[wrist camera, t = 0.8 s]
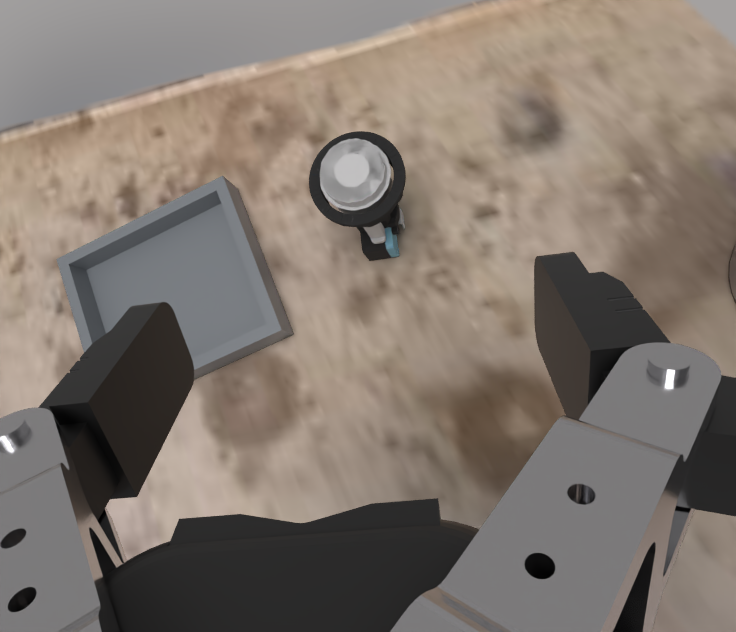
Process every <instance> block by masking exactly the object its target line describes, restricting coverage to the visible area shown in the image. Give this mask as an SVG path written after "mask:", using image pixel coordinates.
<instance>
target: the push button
mask: <svg viewBox="0 0 736 632" xmlns="http://www.w3.org/2000/svg"><path fill="white" fill-rule="evenodd" d="M390 165H391V166H392V167H393V170H394V180H393V182H392V180H391V178H390V176H391V168H390ZM405 178H406V177H405V167H404V163H403V160H402V158H401V156H400V154H399V152H398V150H397V149H396V148H395V146H394V145H393V144H392V143H391V142H390V141H388V140H387V139H385V138H384V137H382V136H380V135H377V134H374V133H371V132H362V131H361V132H351V133H347V134H344V135H341V136H339V137H337V138H335V139H334V140H332V141H331V142H329V143H328V144H327V145H326V146H325V147H324V148H323V149H322V150H321V151H320V152H319V154H318V155H317V157H316V158H315V160H314V162H313V165H312V167H311V171H310V176H309V188H310V193H311V196H312V199H313V201H314V203H315V205H316V206H317V208H318V209H319V210H320V211H321V213H322V214H323V215H324V216H326V217H327V218H328V219H330V220H331V221H333V222H335V223H337V224H340V225H343V226H349V227H357V228H358V230H359V231H360V233H361V243H362V250H363V253H364V254H365V256H366V257H367V258H368V259H369V261H371V260H378V259H385V258H391V257H397V256H399V248H398V243H397V234H399V224H402V226H403V229H405V223H404V216H403V213H402V210H401V208H399V206H398V202H399V201H400V200H401V198H402V196H403V190H404V186H405ZM328 201H329V202H331V203H332V204H333V205H335V206H336V207H337V208H338V209H339V210H340V211H341V212H339V211H337V210H335V209H334V208H332V207H331V206H330V204H329V202H328ZM342 212H343V213H342Z"/></svg>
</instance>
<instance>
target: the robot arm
mask: <svg viewBox="0 0 736 632" xmlns="http://www.w3.org/2000/svg"><path fill="white" fill-rule="evenodd" d="M729 279H730V284H731V290H732V294H733V296H734V298H735V301H736V245H735V247H734V250H733V254H732V257H731V260H730V271H729ZM534 296H535V332H536V338H537V343H538V347H539V350H540V353H541V355H542V358H543V360H544V363H545V365H546V367H547V370H548V372H549V375H550V377H551V380H552V382H553V385H554V387H555V389H556V392H557V394H558V397H559V399H560V402H561V404H562V406H563V409H564V411H565V414H566V416H562V417H560V418H559V419H558V420H557V421H556V422H555V424H554V425H553V426H552V428H551V429H550V431H549V432H548V433H547V435H546V436H545V438H544V439H543V440H542V442H541V443H540V445H539V446H538V448H537V449H536V450H535V452H534V453H533V455H532V456H531V457H530V459H529V460H528V462H527V463H526V465H525V466H524V467H523V469H522V470H521V472H520V473H519V474H518V476H517V477H516V479H515V480H514V482H513V483H512V484H511V486H510V487H509V489H508V490H507V491H506V493H505V494H504V496H503V497H502V499H501V500H500V501H499V503H498V504H497V506H496V507H495V509H494V510H493V511H492V513H491V514H490V516H489V517H488V518H487V520H486V521H485V523H484V524H483V526H482V527H481V528H480V530H479V529H476V528H474V527H471V526H468V525H464V524H461V523H457V522H453V521H447V520H441V518H440V510H439V503H438V499H426V500H413V501H400V502H388V503H375V504H369V505H366V506H363V507H359V508H356V509H352V510H349V511H345V512H342V513H339V514H335V515H332V516H328V517H325V518H322V519H318V520H315V521H311V522H307V523H293V522H287V521H280V520H274V519H268V518H261V517H255V516H249V515H242V514H237V515H224V516H211V517H199V518H186V519H179V521H178V523H177V526H176V528H175V531H174V533H173V536H172V538H171V541H170V542H166V543H163V544H161V545H158V546H156V547H153V548H151V549H149V550H147V551H145V552H143V553H141V554H139V555H137V556H135V557H133V558H131V559H130V560H128V561H127V558H126V556H125V553H124V550H123V547H122V545H121V542H120V539H119V537H118V534H117V531H116V528H115V526H114V523H113V520H112V518H111V516H110V514H109V513H108V511H107V509H106V505H107V503H108V502H109V500H110V499H117V498H129V497H137V496H138V494H139V492H140V490H141V488H142V486H143V484H144V482H145V480H146V478H147V476H148V474H149V472H150V470H151V468H152V466H153V464H154V462H155V460H156V458H157V456H158V454H159V452H160V450H161V448H162V446H163V444H164V442H165V440H166V438H167V436H168V434H169V432H170V430H171V428H172V426H173V424H174V422H175V420H176V418H177V416H178V414H179V412H180V410H181V408H182V406H183V404H184V402H185V400H186V398H187V396H188V394H189V392H190V390H191V388H192V385H193V381H194V365H193V360H192V357H191V355H190V352H189V350H188V347H187V344H186V342H185V339H184V336H183V334H182V331H181V329H180V326H179V323H178V321H177V318H176V315H175V313H174V311H173V309H172V307H171V306H170V305H169V304H168V303H167V302H159V303H151V304H143V305H135V306H131V307H130V308H129V309H128V310H127V311H126V312H125V314H124V315H123V316H122V317H121V319H120V320H119V321H118V322H117V323H116V325H115V326H114V327H113V328H112V330H111V331H109V332H108V333H106V334H105V335H104V336H102V337H101V338H99V339H98V340H96V341H95V342H94V343H92V344H91V346H90V347H89V348H88V349H87V350H86V352H85V353H84V354H83V355H82V356H81V358H80V361H77V362H76V363H75V365H74V366H73V367H72V368H71V369H70V373H67V374H66V375H65V377H64V378H63V379H62V380H61V381H60V383H59V384H58V385H57V386H56V387H55V388H54V390H53V391H52V392H51V393H50V394H49V396H48V397H47V398H46V399H45V400H44V402H43V403H42V404H41V405H40V406H39V408H29V409H24V410H20V411H17V412H14V413H12V414H9V415H7V416H5V417H3V418H0V632H652V629H653V625H654V622H655V618H656V614H657V610H658V607H659V604H660V600H661V597H662V594H663V592H664V589H665V586H666V584H667V581H668V578H669V576H670V573H671V570H672V568H673V565H674V563H675V560H676V557H677V555H678V552H679V549H680V547H681V544H682V542H683V539H684V536H685V534H686V531H687V528H688V526H689V523H690V521H691V518H692V515H693V513H694V510H695V509H697V510H703V511H709V512H714V513H720V514H726V515H731V516H736V378H732V377H727V376H722V375H721V371H720V368H719V366H718V365H717V364H716V362H715V361H714V360H712V359H711V358H710V357H709V356H707V355H705V354H704V353H702V352H700V351H698V350H696V349H693V348H690V347H687V346H683V345H679V344H673V343H670V341H669V340H668V339H667V337H666V336H665V335H664V334H663V332H662V331H661V330H660V329H659V327H658V326H657V325H656V323H655V322H654V321H653V320H652V318H651V317H650V316H649V315H648V313H647V312H646V311H645V310H643V308H642V306H641V304H640V303H639V302H638V301H637V299H636V298H635V299H634V296H633V294H632V293H631V292H630V291H629V289H628V288H627V287H626V285H625V284H624V283H623V282H622V281H620V280H618V279H616V278H614V277H612V276H610V275H608V274H606V273H605V272H596V273H589V272H588V271H587V270H586V268H585V267H584V265H583V264H582V262H581V261H580V260H579V258H578V257H577V255H576V254H575V253H574V252H568V253H560V254H552V255H544V256H537V257H536V259H535V265H534Z"/></svg>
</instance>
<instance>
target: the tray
mask: <svg viewBox="0 0 736 632" xmlns="http://www.w3.org/2000/svg"><path fill="white" fill-rule="evenodd" d="M57 262H58V266H59V269H60V273H61V276H62V279H63V283H64V286H65V290H66V293H67V296H68V300H69V303H70V306H71V310H72V313H73V317H74V320H75V323H76V327H77V330H78V333H79V337H80V340H81V344H82V347H83V350H84V353H85V352H86V350H87V349H88V348H89V347H90V346H91V344H92V343H94V342H95V341H96V340H98V339H99V338H101V337H102V336H104V335H105V334H106V333H108V332H109V331H111V330H112V328H113V327H114V326H115V325H116V323H117V322H118V321H119V320H120V319H121V317H122V316H123V315H124V314H125V312H126V311H127V310H128V309H129V308H130V307H131V306H135V305H143V304H151V303H159V302H167V303H168V304H169V305H170V306H171V307H172V309H173V311H174V313H175V315H176V318H177V321H178V323H179V326H180V329H181V331H182V334H183V336H184V339H185V342H186V344H187V347H188V350H189V352H190V355H191V357H192V360H193V365H194V379H197V378H199V377H201V376H203V375H205V374H208V373H210V372H212V371H214V370H216V369H219V368H221V367H223V366H225V365H227V364H230V363H232V362H234V361H236V360H238V359H241V358H243V357H245V356H247V355H249V354H252V353H254V352H256V351H258V350H260V349H263V348H265V347H267V346H269V345H271V344H274V343H276V342H278V341H280V340H282V339H285V338H287V337H289V336H291V335H293V334H294V333H293V331H292V328H291V326H290V323H289V321H288V318H287V315H286V313H285V310H284V308H283V305H282V302H281V300H280V297H279V295H278V292H277V289H276V287H275V284H274V282H273V279H272V276H271V274H270V271H269V269H268V266H267V263H266V261H265V258H264V256H263V253H262V250H261V248H260V245H259V243H258V240H257V237H256V235H255V232H254V230H253V227H252V224H251V222H250V219H249V217H248V214H247V212H246V209H245V206H244V204H243V201H242V199H241V196H240V193H239V191H238V189H237V188H236V187H235V186H234V185H233V184H232V183H231V182H229V181H228V180H227V179H226V178H225V177H224V176H221V177H219V178H217V179H215V180H213V181H211V182H209V183H207V184H205V185H203V186H201V187H199V188H197V189H195V190H193V191H191V192H189V193H187V194H185V195H183V196H181V197H179V198H177V199H175V200H173V201H171V202H169V203H167V204H165V205H163V206H161V207H159V208H158V209H156V210H154V211H152V212H150V213H148V214H146V215H144V216H142V217H140V218H138V219H136V220H134V221H132V222H130V223H128V224H126V225H124V226H122V227H120V228H118V229H116V230H114V231H112V232H110V233H108V234H106V235H104V236H102V237H100V238H98V239H96V240H94V241H92V242H90V243H88V244H86V245H84V246H82V247H80V248H78V249H76V250H74V251H72V252H70V253H68V254H66V255H64V256H62V257H60V258H58V259H57Z"/></svg>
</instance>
